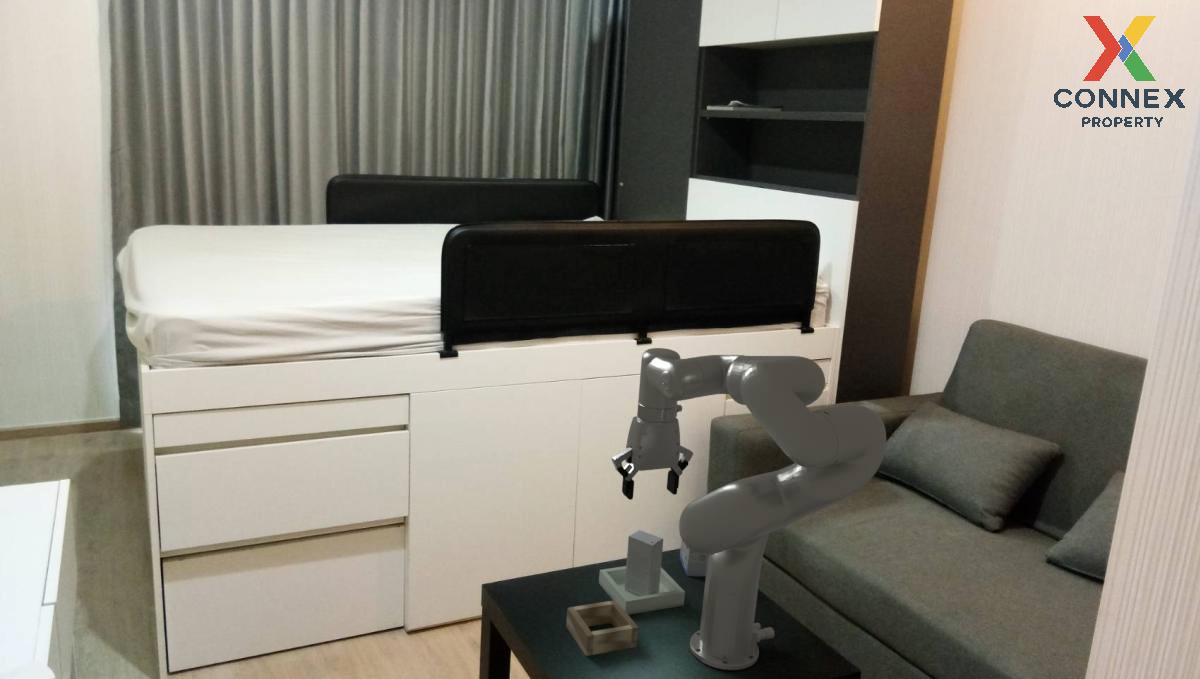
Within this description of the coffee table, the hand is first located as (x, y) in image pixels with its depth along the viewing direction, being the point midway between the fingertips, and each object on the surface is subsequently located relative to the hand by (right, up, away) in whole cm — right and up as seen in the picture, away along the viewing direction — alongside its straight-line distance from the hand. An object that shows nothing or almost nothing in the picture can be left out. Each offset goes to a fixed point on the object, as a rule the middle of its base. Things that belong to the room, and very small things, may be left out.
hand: (649, 494), depth 181 cm
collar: (-10, -25, -11) cm, 29 cm away
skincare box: (-1, -21, +5) cm, 22 cm away
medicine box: (+10, -19, +18) cm, 28 cm away
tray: (-2, -21, +5) cm, 22 cm away
